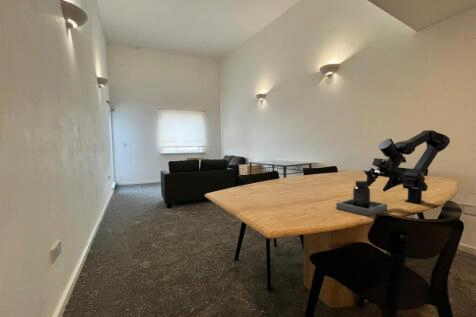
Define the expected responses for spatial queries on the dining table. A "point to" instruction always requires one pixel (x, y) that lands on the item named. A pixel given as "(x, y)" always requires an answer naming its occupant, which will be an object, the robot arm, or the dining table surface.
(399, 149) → the robot arm
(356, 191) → the supplement bottle
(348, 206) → the slate tray
